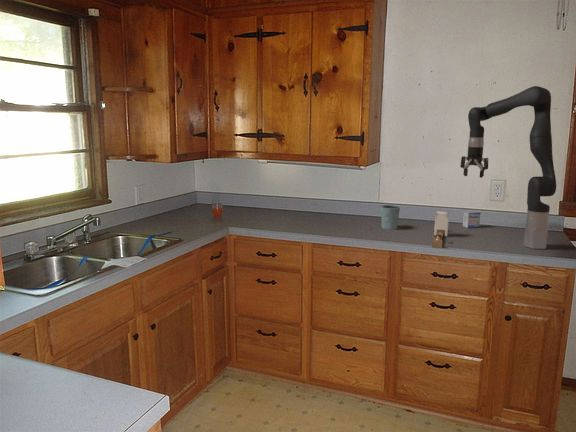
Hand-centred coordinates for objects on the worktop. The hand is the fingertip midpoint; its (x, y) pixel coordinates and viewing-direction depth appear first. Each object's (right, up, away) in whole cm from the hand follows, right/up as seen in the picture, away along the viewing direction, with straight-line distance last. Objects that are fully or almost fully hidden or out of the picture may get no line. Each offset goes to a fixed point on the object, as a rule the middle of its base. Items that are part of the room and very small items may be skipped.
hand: (473, 176), depth 267 cm
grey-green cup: (-43, -28, +8) cm, 52 cm away
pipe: (-20, -32, -16) cm, 41 cm away
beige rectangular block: (-20, -31, -9) cm, 38 cm away
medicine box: (+3, -27, +11) cm, 30 cm away
